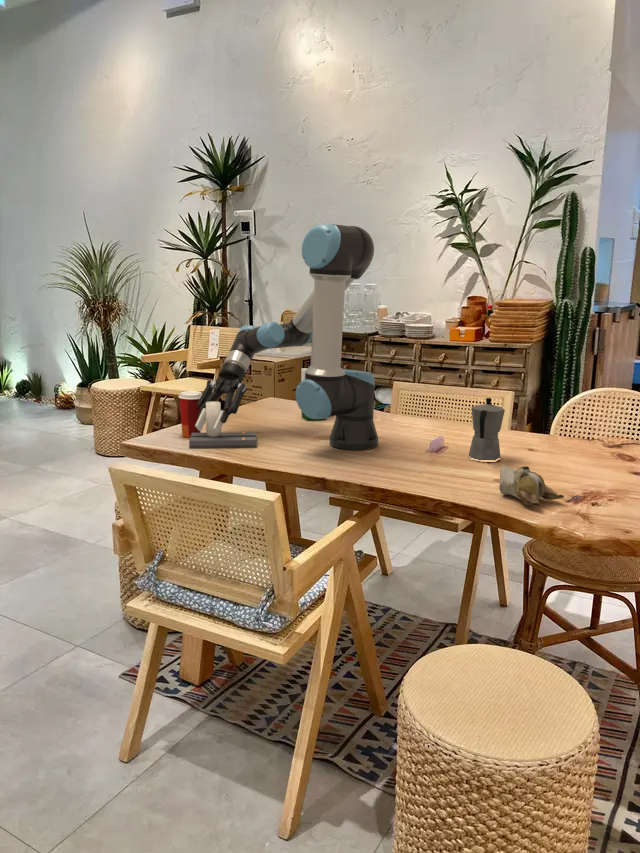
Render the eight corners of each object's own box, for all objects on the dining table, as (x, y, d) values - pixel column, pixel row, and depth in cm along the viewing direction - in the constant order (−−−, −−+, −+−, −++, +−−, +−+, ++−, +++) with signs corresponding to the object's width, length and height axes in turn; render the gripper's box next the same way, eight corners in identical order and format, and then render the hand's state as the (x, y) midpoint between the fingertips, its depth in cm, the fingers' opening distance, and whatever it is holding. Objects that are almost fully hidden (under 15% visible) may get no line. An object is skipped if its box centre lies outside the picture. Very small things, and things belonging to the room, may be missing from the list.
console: (256, 439, 214) (256, 431, 213) (256, 447, 204) (256, 439, 203) (192, 440, 212) (191, 432, 211) (189, 448, 202) (189, 440, 201)
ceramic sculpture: (517, 454, 168) (569, 472, 157) (512, 487, 171) (564, 507, 159) (488, 461, 162) (541, 481, 151) (484, 495, 165) (536, 517, 153)
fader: (221, 439, 210) (220, 401, 207) (220, 442, 205) (220, 404, 203) (207, 439, 209) (206, 401, 207) (206, 443, 205) (205, 404, 202)
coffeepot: (472, 451, 204) (476, 392, 200) (504, 455, 200) (509, 395, 196) (461, 464, 190) (465, 401, 186) (495, 468, 187) (500, 404, 183)
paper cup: (206, 433, 220) (206, 391, 217) (199, 439, 213) (199, 395, 210) (182, 432, 221) (182, 390, 218) (175, 437, 214) (174, 394, 210)
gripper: (264, 378, 213) (238, 439, 202) (214, 373, 221) (186, 432, 210) (256, 363, 207) (228, 426, 196) (204, 359, 215) (175, 419, 204)
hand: (207, 429), depth 203 cm, fingers open, 6 cm apart
